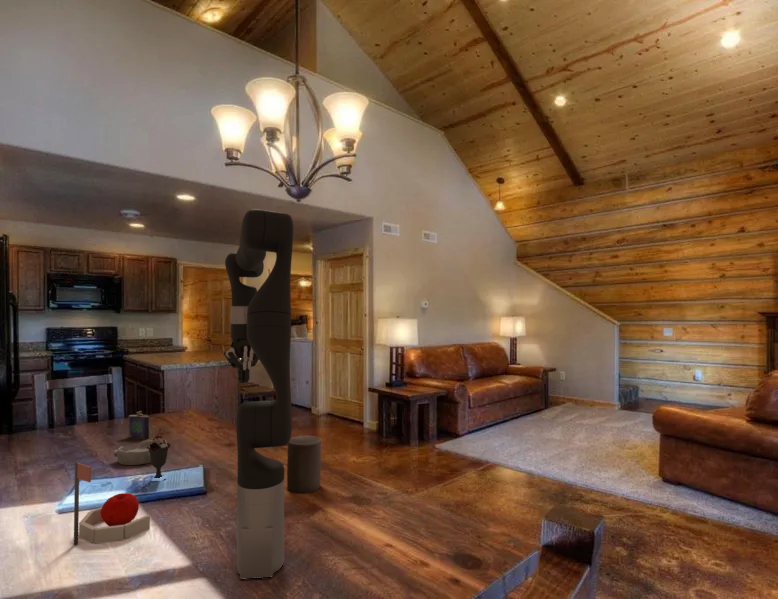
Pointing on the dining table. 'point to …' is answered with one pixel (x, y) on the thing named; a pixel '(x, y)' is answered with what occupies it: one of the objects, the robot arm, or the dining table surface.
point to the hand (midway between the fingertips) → (243, 382)
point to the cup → (94, 516)
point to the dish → (134, 454)
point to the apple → (120, 509)
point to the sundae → (158, 453)
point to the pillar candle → (303, 464)
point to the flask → (138, 426)
